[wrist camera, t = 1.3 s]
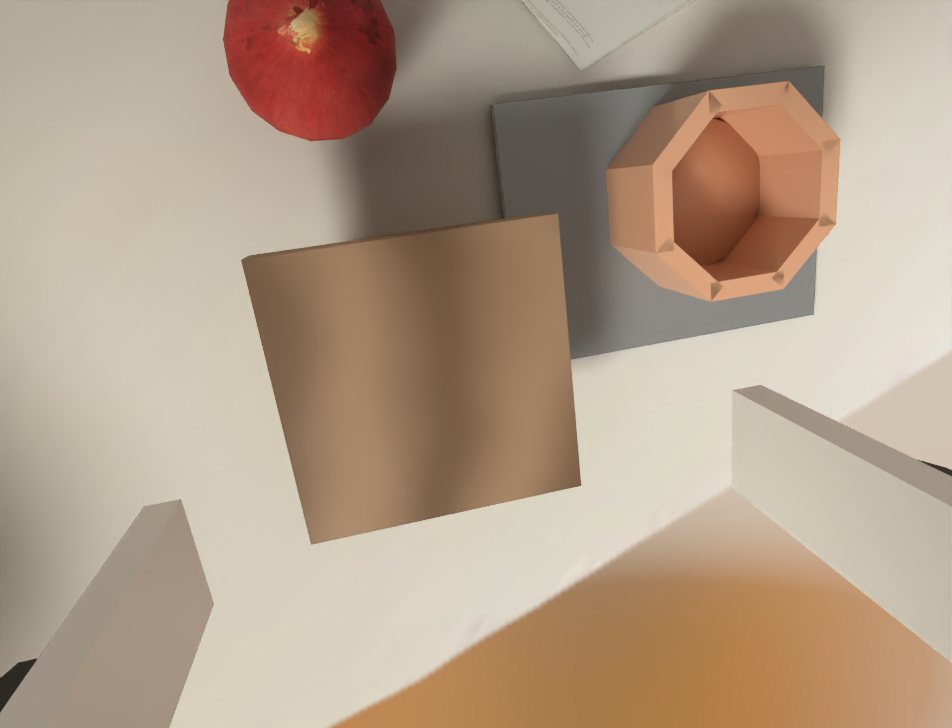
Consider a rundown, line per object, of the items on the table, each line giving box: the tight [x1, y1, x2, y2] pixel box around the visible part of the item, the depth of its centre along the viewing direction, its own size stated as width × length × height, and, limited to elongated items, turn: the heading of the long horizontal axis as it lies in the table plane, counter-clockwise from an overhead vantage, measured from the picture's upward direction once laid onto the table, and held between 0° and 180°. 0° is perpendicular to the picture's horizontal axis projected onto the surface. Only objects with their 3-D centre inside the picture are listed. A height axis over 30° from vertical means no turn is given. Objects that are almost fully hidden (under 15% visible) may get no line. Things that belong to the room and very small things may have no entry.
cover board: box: [241, 213, 581, 545], centre depth 23 cm, size 11×11×2 cm
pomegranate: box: [223, 0, 396, 141], centre depth 20 cm, size 6×6×8 cm
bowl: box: [606, 81, 840, 302], centre depth 26 cm, size 8×8×4 cm
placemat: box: [491, 66, 824, 360], centre depth 29 cm, size 16×12×1 cm
